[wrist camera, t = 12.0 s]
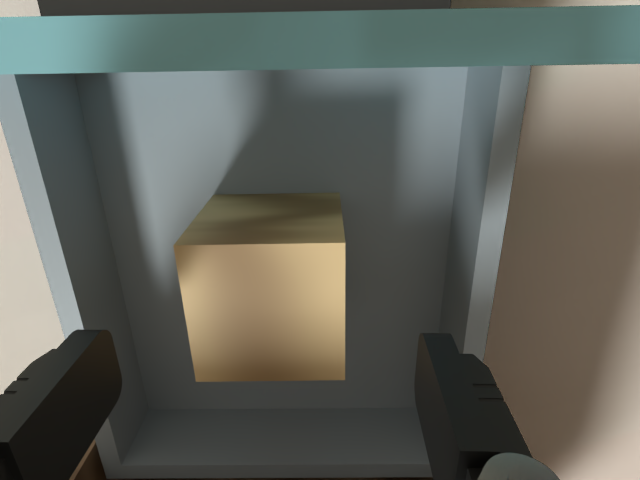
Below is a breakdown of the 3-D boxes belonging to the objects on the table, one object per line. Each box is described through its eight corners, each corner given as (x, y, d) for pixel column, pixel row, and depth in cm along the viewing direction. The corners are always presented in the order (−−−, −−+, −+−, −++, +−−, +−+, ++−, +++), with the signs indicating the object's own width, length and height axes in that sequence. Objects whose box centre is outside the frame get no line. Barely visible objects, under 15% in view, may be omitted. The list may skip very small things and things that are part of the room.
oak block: (339, 192, 17) (345, 242, 12) (339, 301, 19) (345, 380, 14) (213, 194, 17) (173, 245, 13) (226, 303, 19) (196, 382, 15)
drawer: (549, -109, 14) (731, -242, 8) (470, 399, 23) (528, 533, 17) (-16, -96, 15) (-281, -215, 8) (114, 401, 23) (34, 534, 17)
